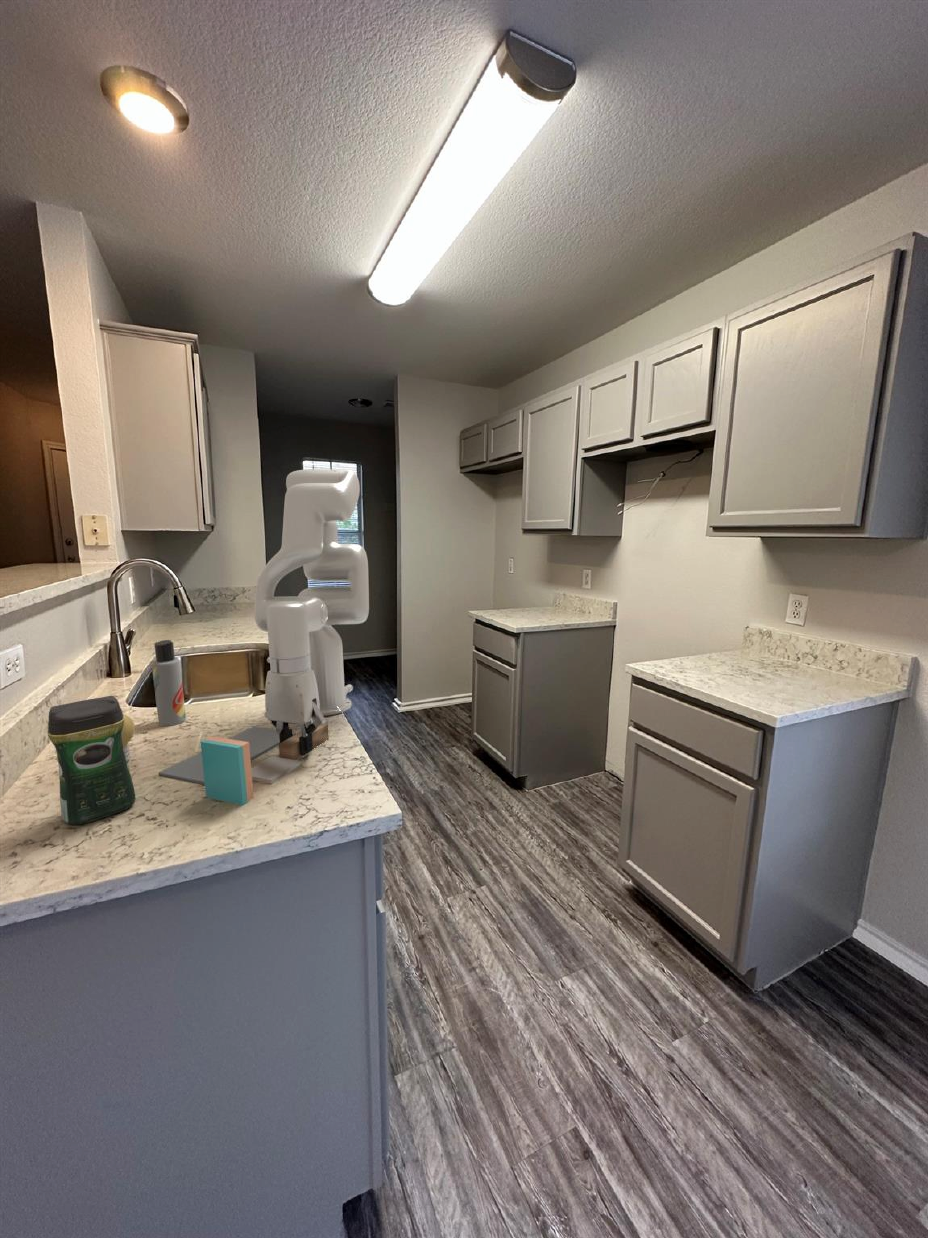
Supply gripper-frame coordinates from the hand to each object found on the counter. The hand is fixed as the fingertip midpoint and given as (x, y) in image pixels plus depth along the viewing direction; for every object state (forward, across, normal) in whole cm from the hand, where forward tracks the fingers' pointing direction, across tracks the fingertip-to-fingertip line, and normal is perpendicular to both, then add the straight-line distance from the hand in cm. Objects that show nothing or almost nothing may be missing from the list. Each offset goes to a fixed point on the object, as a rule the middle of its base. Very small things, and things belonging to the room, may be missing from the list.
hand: (296, 750), depth 98 cm
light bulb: (+1, -31, -14) cm, 34 cm away
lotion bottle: (+1, -41, +6) cm, 41 cm away
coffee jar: (+1, -17, -27) cm, 32 cm away
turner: (+1, 0, -1) cm, 2 cm away
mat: (+1, -13, -3) cm, 13 cm away
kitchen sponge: (+1, 0, -17) cm, 17 cm away
